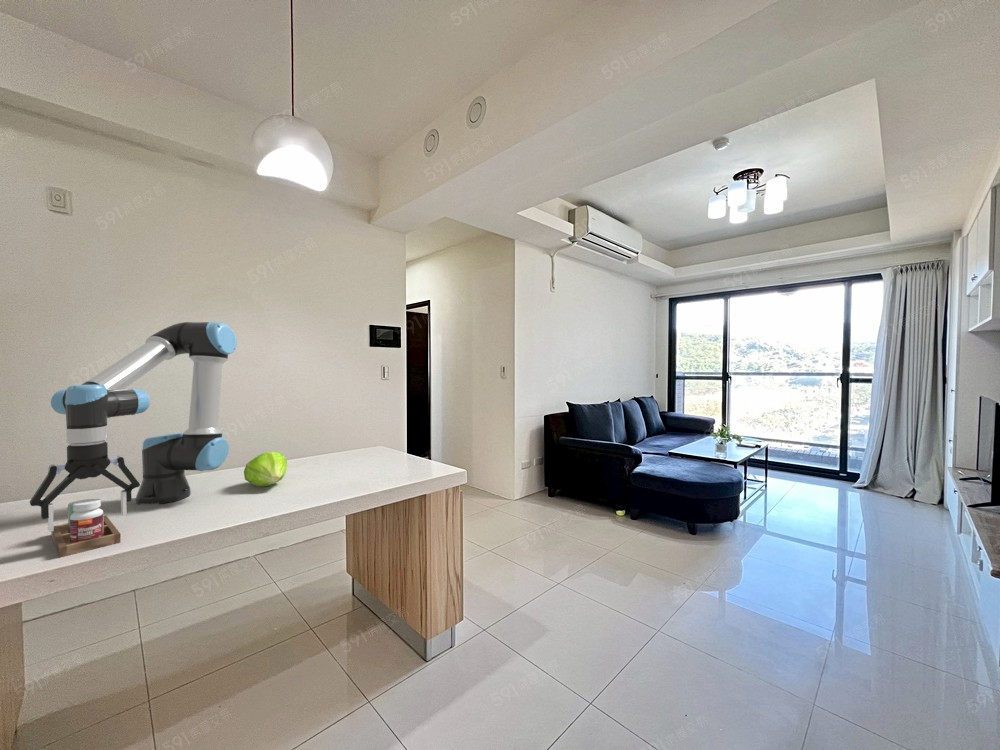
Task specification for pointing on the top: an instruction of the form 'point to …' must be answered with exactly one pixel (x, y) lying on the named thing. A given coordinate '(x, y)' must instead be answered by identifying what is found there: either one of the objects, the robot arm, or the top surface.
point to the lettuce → (266, 469)
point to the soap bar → (71, 512)
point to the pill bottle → (86, 521)
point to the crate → (66, 549)
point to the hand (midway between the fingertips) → (89, 521)
